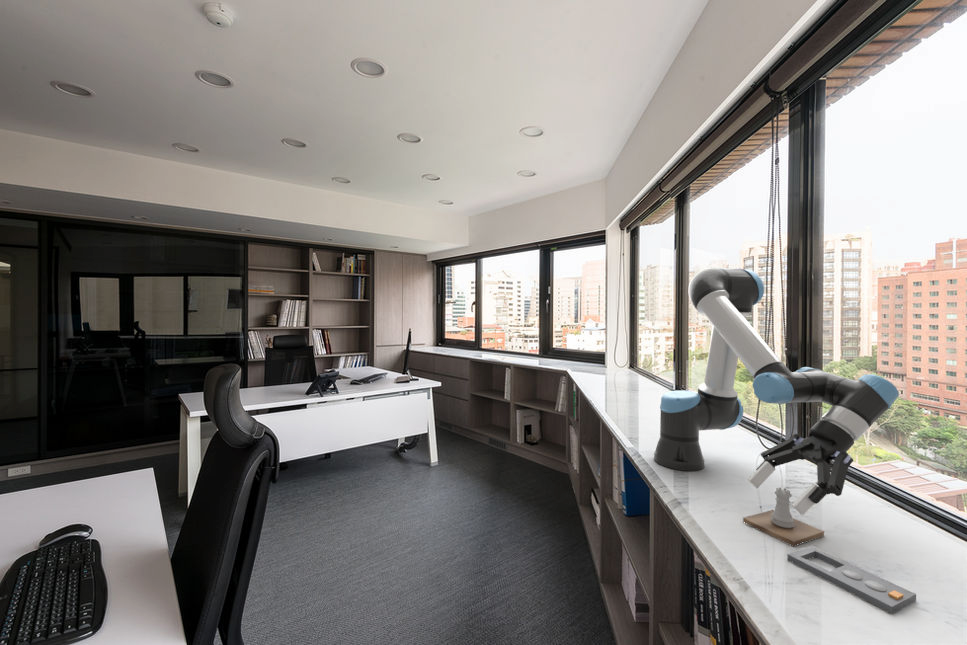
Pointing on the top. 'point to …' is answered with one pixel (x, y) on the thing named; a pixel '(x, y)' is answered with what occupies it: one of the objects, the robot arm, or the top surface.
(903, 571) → the top surface
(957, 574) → the top surface
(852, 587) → the gray slotted board
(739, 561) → the top surface
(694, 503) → the top surface
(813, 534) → the walnut pad
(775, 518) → the rook chess piece
